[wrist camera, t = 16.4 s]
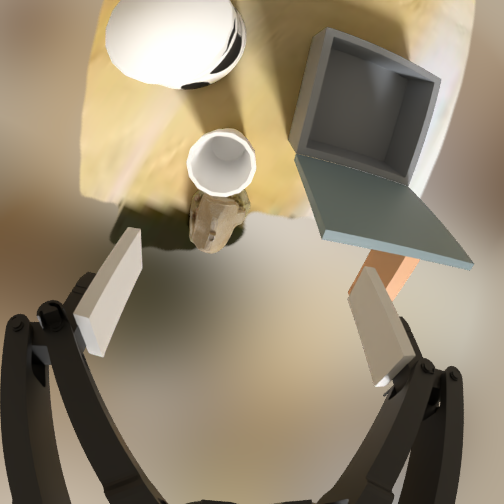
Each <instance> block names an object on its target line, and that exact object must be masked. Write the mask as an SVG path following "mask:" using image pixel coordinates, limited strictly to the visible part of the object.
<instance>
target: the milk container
mask: <svg viewBox="0 0 504 504" xmlns="http://www.w3.org/2000/svg"><path fill="white" fill-rule="evenodd" d="M245 45H246V27H245V23H244V21H243V18H242V16H241V15H240V13H239V12H238V10H237V9H236V8H235V7H234V6H233V5H232V3H231V1H230V0H120V2H119V3H118V4H117V6H116V7H115V8H114V9H113V11H112V14H111V16H110V19H109V21H108V24H107V27H106V49H107V51H108V54H109V56H110V59H111V61H112V63H113V64H114V65H115V66H116V67H117V68H118V69H119V70H120V71H121V72H122V73H123V74H125V75H126V76H128V77H131V78H133V79H136V80H139V81H141V82H144V83H147V84H160V85H163V86H165V87H169V88H173V89H182V90H187V89H196V88H201V87H204V86H207V85H210V84H212V83H214V82H216V81H218V80H220V79H221V78H223V77H224V76H225V75H227V74H228V73H229V72H230V71H231V70H232V69H233V68H234V67H235V66H236V64H237V63H238V62H239V60H240V58H241V56H242V54H243V52H244V49H245Z"/></svg>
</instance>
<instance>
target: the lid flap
mask: <svg viewBox="0 0 504 504" xmlns="http://www.w3.org/2000/svg"><path fill="white" fill-rule="evenodd" d="M294 161H295V163H296V166H297V169H298V171H299V174H300V177H301V180H302V182H303V185H304V188H305V191H306V193H307V196H308V199H309V202H310V205H311V208H312V211H313V214H314V217H315V220H316V223H317V226H318V229H319V232H320V235H321V238H322V239H323V240H328V241H333V242H339V243H343V244H348V245H354V246H359V247H364V248H369V249H371V251H370V253H369V255H368V257H367V258H366V260H365V262H364V264H363V266H362V268H361V270H360V271H359V273H358V275H357V277H356V279H355V281H354V282H353V284H352V286H351V287H350V289H349V291H348V294H349V295H350V293H351V291H352V289H353V288H354V286H355V284H356V282H357V280H358V278H359V276H360V274H361V272H362V270H363V268H364V266H367V267H373V268H375V269H376V271H377V273H378V275H379V277H380V279H381V281H382V283H383V285H384V287H385V289H386V291H387V293H388V295H389V297H390V299H391V301H393V300H394V299H395V297H396V296H397V294H398V293H399V291H400V290H401V288H402V287H403V285H404V284H405V282H406V281H407V279H408V278H409V276H410V275H411V273H412V272H413V270H414V269H415V267H416V265H417V264H418V262H419V260H420V259H421V260H426V261H430V262H435V263H439V264H444V265H448V266H452V267H457V268H461V269H465V270H470V269H471V268H472V267H473V265H474V263H473V262H472V260H471V259H470V258H469V256H468V255H467V254H466V252H465V251H464V250H463V248H462V247H461V246H460V244H459V243H458V242H457V241H456V239H455V238H454V237H453V236H452V235H451V233H450V232H449V231H448V230H447V229H446V227H445V226H444V225H443V224H442V223H441V221H440V220H439V219H438V218H437V217H436V216H435V215H434V214H433V212H432V211H431V210H430V209H429V208H428V207H427V206H426V205H425V204H424V203H423V202H422V200H421V199H420V198H419V197H418V196H417V195H416V194H415V193H414V192H413V191H412V190H411V189H410V188H409V187H408V186H405V185H402V184H399V183H396V182H394V181H391V180H388V179H385V178H382V177H379V176H376V175H372V174H369V173H366V172H363V171H359V170H356V169H353V168H349V167H346V166H342V165H339V164H335V163H331V162H328V161H324V160H320V159H316V158H312V157H308V156H304V155H300V154H296V155H295V159H294Z"/></svg>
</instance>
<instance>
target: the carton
mask: <svg viewBox="0 0 504 504" xmlns="http://www.w3.org/2000/svg"><path fill="white" fill-rule="evenodd" d="M440 84H441V79H440V78H438V77H437V76H435V75H433V74H432V73H430V72H428V71H427V70H425V69H423V68H421V67H420V66H418V65H416V64H414V63H412V62H410V61H408V60H407V59H405V58H403V57H401V56H399V55H397V54H395V53H393V52H390V51H388V50H386V49H384V48H382V47H379V46H377V45H375V44H373V43H370V42H368V41H365V40H363V39H360V38H358V37H355V36H352V35H350V34H347V33H344V32H341V31H338V30H336V29H332V28H329V27H326V28H325V29H323V30H322V31H321V32H319V33H318V34H316V35H315V36H314V37H313V38H312V42H311V46H310V51H309V55H308V59H307V63H306V67H305V72H304V76H303V80H302V84H301V88H300V92H299V97H298V101H297V105H296V109H295V113H294V117H293V121H292V125H291V129H290V134H289V138H288V141H289V142H290V144H291V146H292V147H293V149H294V151H295V153H297V154H301V155H305V156H309V157H313V158H317V159H321V160H325V161H329V162H333V163H336V164H340V165H343V166H347V167H350V168H354V169H357V170H361V171H364V172H367V173H370V174H373V175H377V176H380V177H383V178H386V179H389V180H392V181H394V182H397V183H400V184H403V185H406V186H408V185H409V183H410V180H411V178H412V175H413V172H414V170H415V167H416V164H417V161H418V159H419V156H420V153H421V150H422V147H423V144H424V141H425V138H426V135H427V131H428V128H429V125H430V122H431V118H432V115H433V111H434V107H435V104H436V100H437V96H438V92H439V88H440Z"/></svg>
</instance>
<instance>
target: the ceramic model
mask: <svg viewBox="0 0 504 504" xmlns="http://www.w3.org/2000/svg"><path fill="white" fill-rule="evenodd" d="M249 209H250V202H249V199H248V197H247V194H246V191H245V190H244V189H243V190H242V191H241V192H240V193H237V194H234V195H231V196H228V197H219V196H211V195H209V194H207V193H205V192H203V191H202V190H200V189H199V190H198V191H197V192H196V193H195V194H194V196H193V199H192V203H191V209H190V225H189V227H190V232H189V238H190V240H191V242H193V243H195V245H196V246H197V248H198V249H199V250H200V251H202V252H206V253H209V254H211V253H215V252H218V251H220V250H221V249H222V248H223V247H224V246H225V245H226V243H227V241H228V239H229V237H230V236H231V234H232V231H233V229H234V228H235V227H236V226H237V225H239V224H242V223H243V222H244V219H245V217H246V215H247V213H248V211H249Z"/></svg>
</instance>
